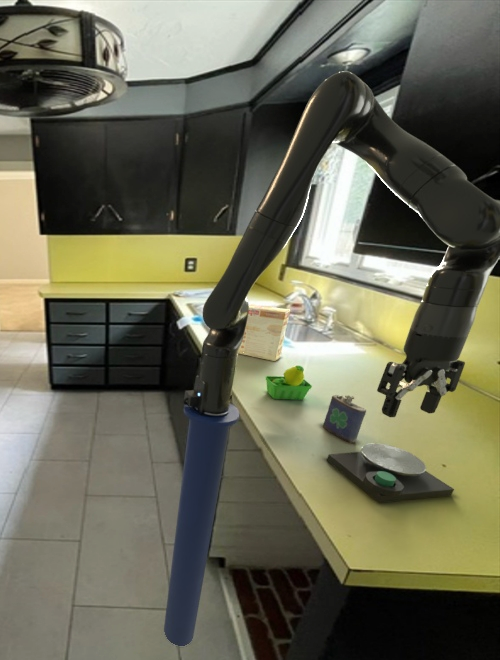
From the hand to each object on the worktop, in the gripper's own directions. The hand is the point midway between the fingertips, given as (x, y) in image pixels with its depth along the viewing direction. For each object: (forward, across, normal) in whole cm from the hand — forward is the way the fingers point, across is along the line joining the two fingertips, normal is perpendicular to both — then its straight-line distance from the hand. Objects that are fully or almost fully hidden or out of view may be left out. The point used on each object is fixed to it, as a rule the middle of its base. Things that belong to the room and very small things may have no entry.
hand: (407, 413), depth 68 cm
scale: (+16, -2, -2) cm, 16 cm away
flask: (+16, -6, -18) cm, 25 cm away
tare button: (+13, +3, +3) cm, 14 cm away
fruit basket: (+16, -7, -40) cm, 44 cm away
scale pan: (+13, -4, -3) cm, 14 cm away
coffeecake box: (+16, -21, -78) cm, 82 cm away
